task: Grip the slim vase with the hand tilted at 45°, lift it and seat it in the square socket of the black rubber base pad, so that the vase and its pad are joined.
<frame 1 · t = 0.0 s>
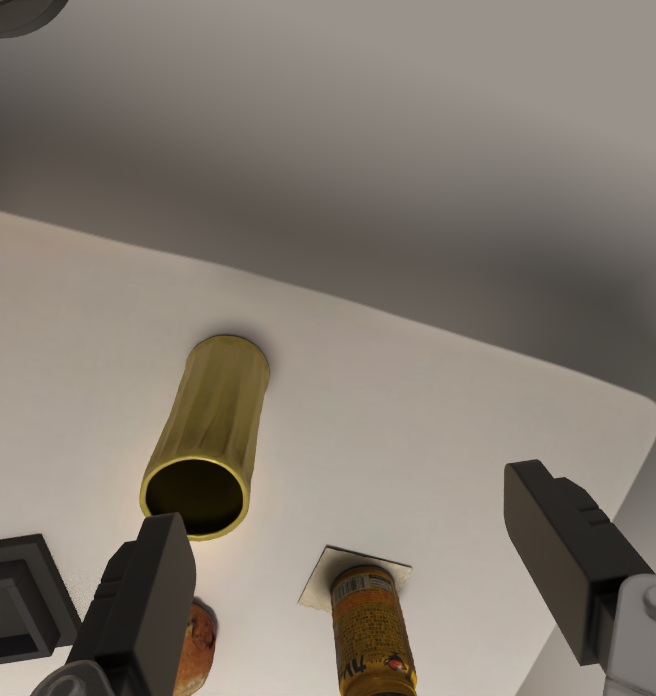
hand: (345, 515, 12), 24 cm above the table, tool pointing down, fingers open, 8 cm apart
condiment: (354, 583, 47), on the table
bread roll: (165, 627, 47), on the table
vase: (228, 371, 38), on the table
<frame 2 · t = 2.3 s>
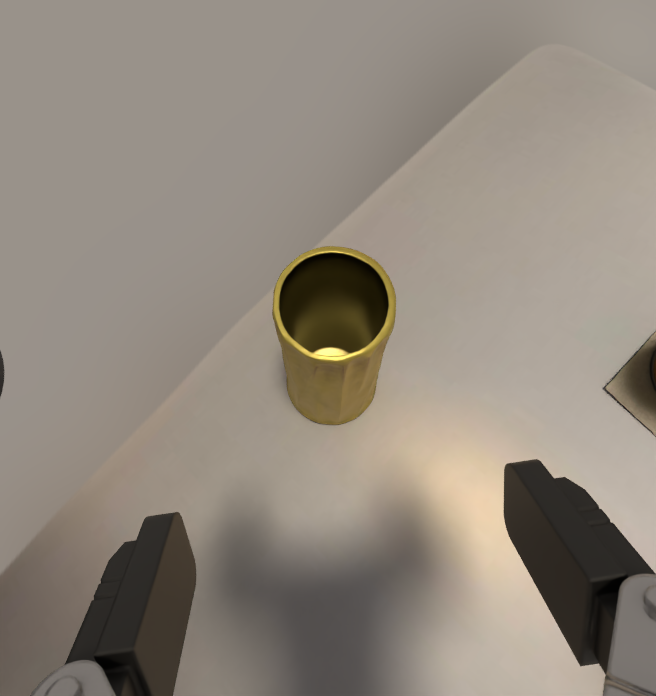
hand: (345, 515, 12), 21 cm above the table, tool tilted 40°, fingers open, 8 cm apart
vase: (331, 381, 35), on the table
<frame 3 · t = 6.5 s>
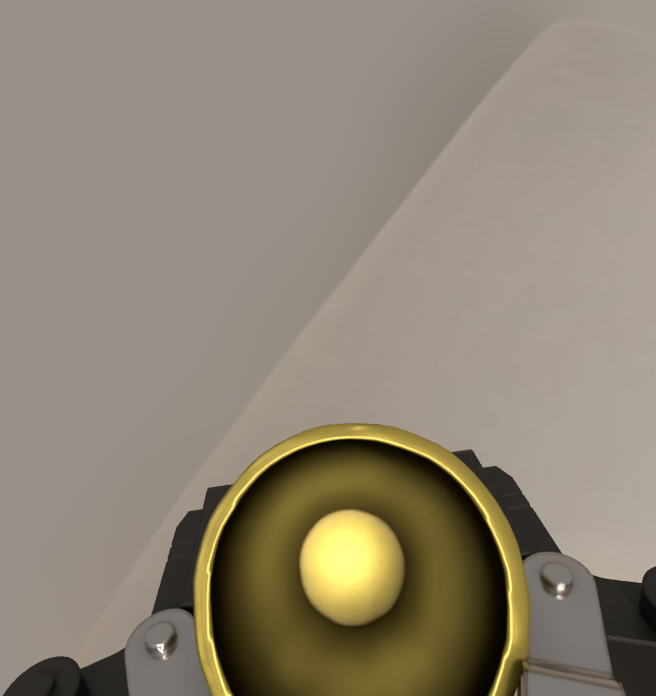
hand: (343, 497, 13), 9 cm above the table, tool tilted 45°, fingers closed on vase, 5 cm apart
vase: (352, 564, 21), on the table, touching gripper
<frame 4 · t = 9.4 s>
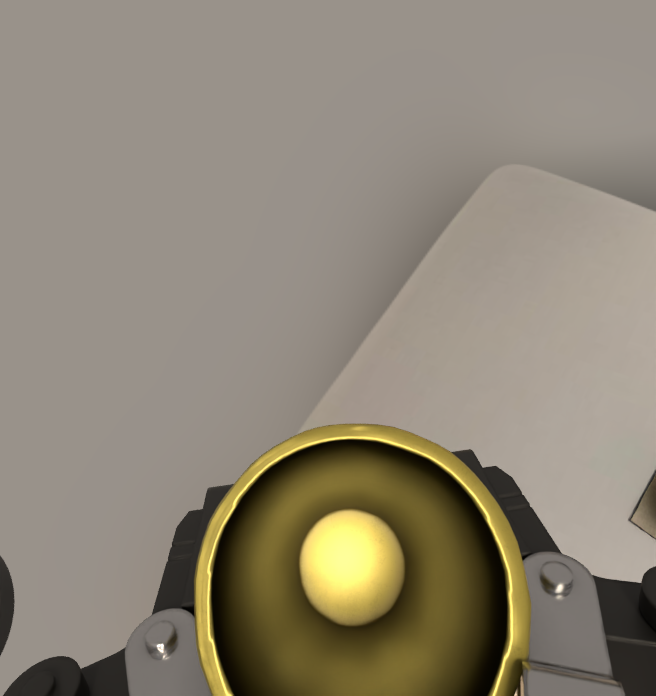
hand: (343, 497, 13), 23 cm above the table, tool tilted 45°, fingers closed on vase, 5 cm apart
vase: (351, 564, 21), point 13 cm above the table, touching gripper
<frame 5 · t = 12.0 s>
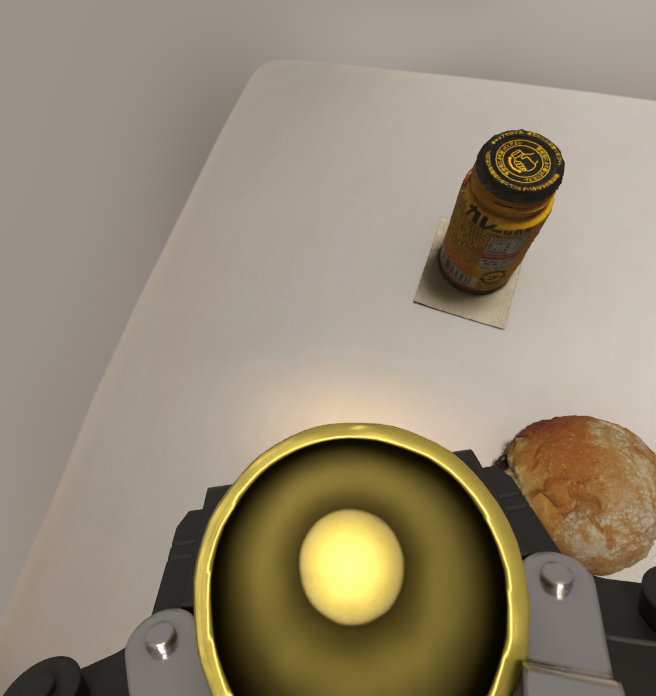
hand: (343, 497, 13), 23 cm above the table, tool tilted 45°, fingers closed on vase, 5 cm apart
condiment: (470, 273, 42), on the table
bread roll: (566, 493, 35), on the table
vase: (351, 563, 21), point 14 cm above the table, touching gripper
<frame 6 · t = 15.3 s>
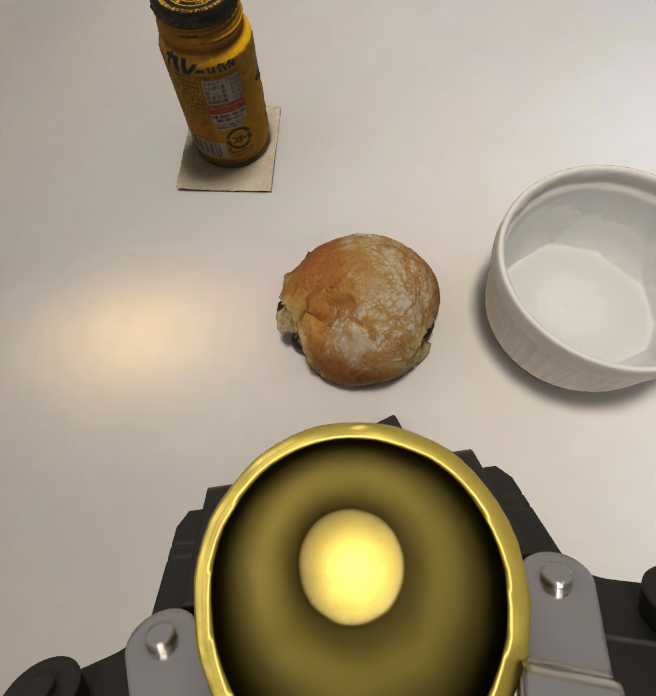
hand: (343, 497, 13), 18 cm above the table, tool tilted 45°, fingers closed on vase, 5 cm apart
ramekin: (568, 314, 34), on the table
condiment: (231, 150, 41), on the table
bread roll: (356, 322, 35), on the table
vase: (351, 563, 21), point 8 cm above the table, touching gripper
when the fingers open (10 cm above the table, at t = 17.9 s): vase stays where it is, resting on base pad.
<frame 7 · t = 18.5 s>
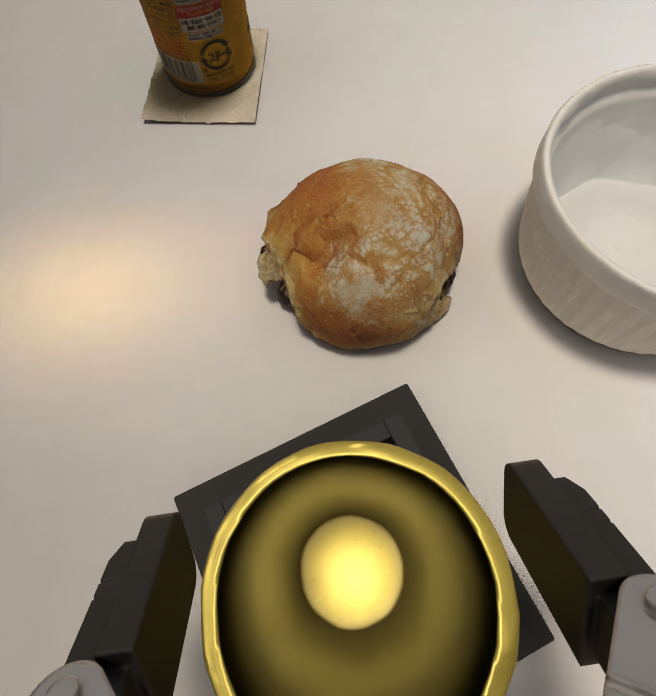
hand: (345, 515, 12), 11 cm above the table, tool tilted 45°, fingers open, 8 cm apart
ramekin: (621, 263, 28), on the table
condiment: (209, 78, 34), on the table
bread roll: (358, 273, 28), on the table
vase: (352, 569, 22), point 1 cm above the table, touching base pad
base pad: (352, 563, 22), on the table
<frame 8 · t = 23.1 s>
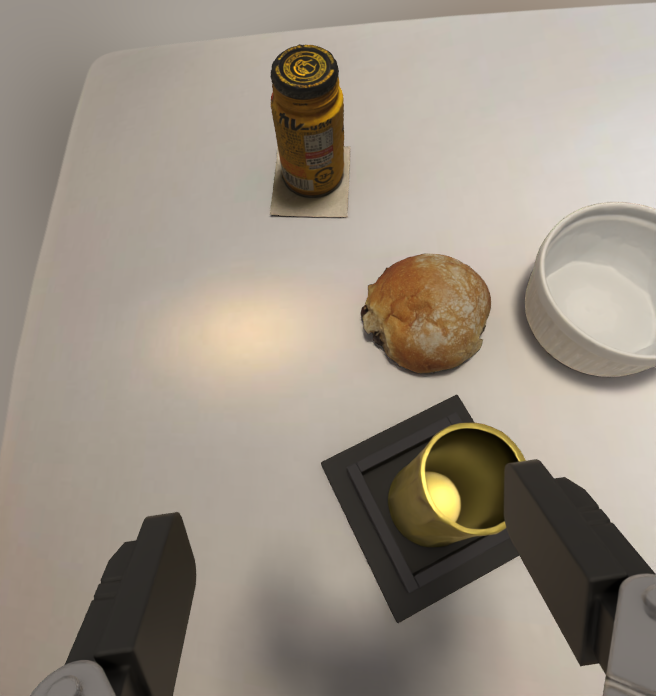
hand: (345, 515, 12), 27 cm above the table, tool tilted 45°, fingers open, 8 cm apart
ramekin: (590, 317, 43), on the table
condiment: (311, 182, 50), on the table
bread roll: (421, 323, 44), on the table
vase: (429, 502, 37), point 1 cm above the table, touching base pad
base pad: (427, 501, 38), on the table
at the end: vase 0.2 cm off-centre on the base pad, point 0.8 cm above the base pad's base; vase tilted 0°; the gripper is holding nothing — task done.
